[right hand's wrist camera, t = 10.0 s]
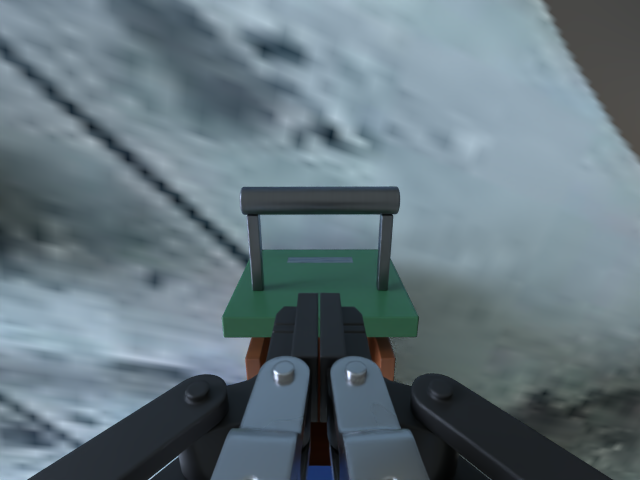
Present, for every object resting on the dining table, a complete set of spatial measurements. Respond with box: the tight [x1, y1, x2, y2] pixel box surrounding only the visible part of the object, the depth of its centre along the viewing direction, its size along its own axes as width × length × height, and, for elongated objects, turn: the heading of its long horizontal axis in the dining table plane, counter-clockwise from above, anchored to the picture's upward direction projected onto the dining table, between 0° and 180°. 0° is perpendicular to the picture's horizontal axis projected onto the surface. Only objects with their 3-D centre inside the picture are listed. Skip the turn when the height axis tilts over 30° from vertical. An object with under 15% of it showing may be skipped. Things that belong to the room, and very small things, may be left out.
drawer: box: [222, 187, 419, 466], centre depth 23 cm, size 22×10×9 cm, turn 0°
